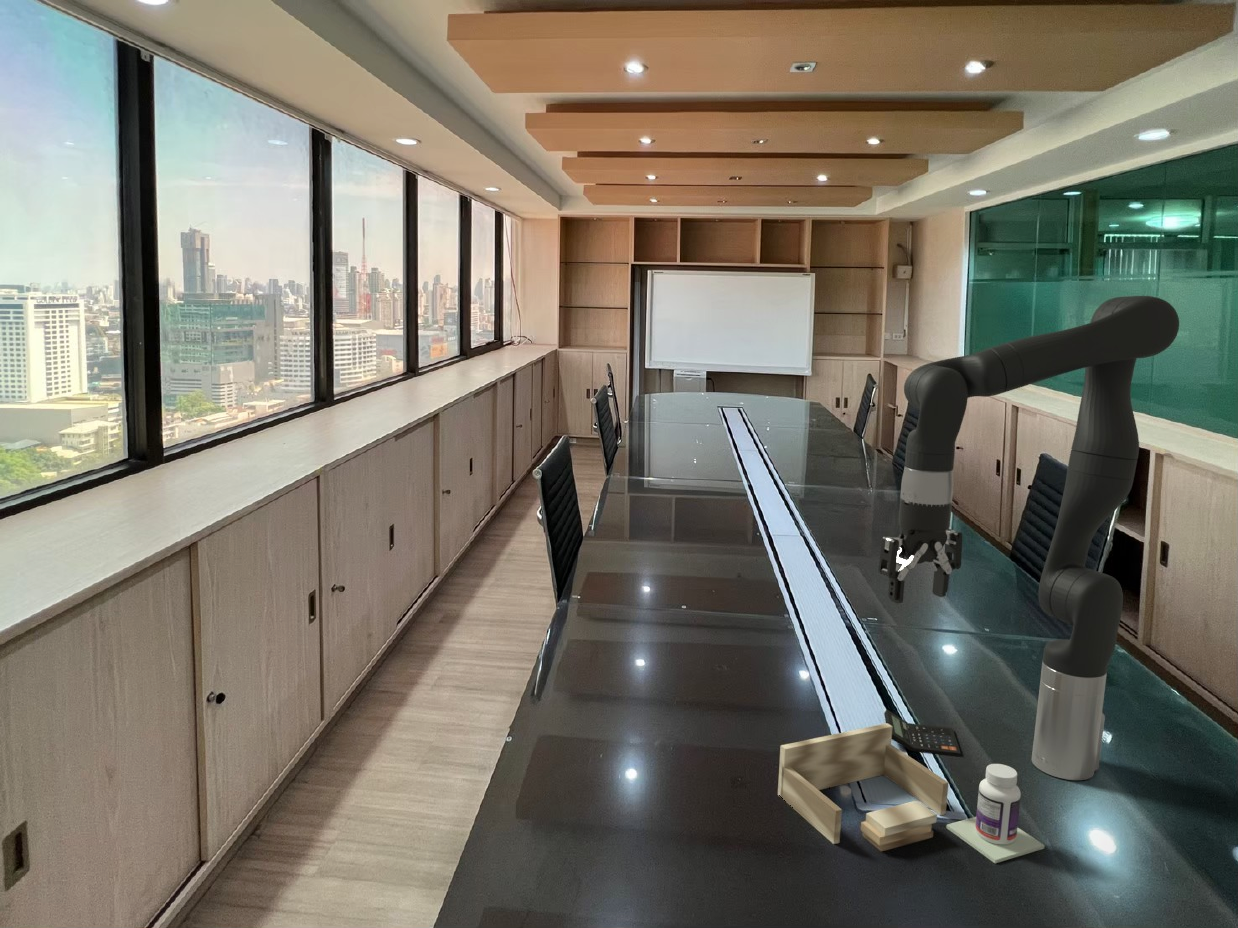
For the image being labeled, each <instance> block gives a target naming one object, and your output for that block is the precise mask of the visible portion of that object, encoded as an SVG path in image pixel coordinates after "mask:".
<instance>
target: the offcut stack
mask: <svg viewBox="0 0 1238 928" xmlns="http://www.w3.org/2000/svg"><path fill="white" fill-rule="evenodd" d="M937 818H938V813H936V812H935V811H933V810H932V809H931V808H929V807H928V806H926V805H925V804H924V803H922V802H921V801H919V800H918V799H917V800H912V801H909V802H905V803H902V804H901V803H900V804H897V805H893V806H889V807H886V808H885V807H884V808H882V809H881V808H880V809H877V810H873V811H870V812H867V813H865V820H864V821H861V822H860V831H861V832H862V837H863V838H865V839H866V840H867V841H868V843H870V844H871V845H872V846H874V847H875V848H876V849H878V850H879V851H880V852H883V851H888V850H891V849H896V848H899V847H903V846H907V845H911V844H914V843H917V842H921V841H925V840H929V839H931V838H933V837H934V830H933V829H932V828H933V827H932V826H933V825H932V824H936V823H937Z"/></svg>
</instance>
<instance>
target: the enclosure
mask: <svg viewBox="0 0 1238 928" xmlns="http://www.w3.org/2000/svg"><path fill="white" fill-rule="evenodd" d="M891 738H892V726H891V725H889V724H888V723H886V722H885V723H881V724H877V725H872V726H867V727H863V728H858V729H853V730H848V731H845V732H838V733H834V734H829V735H824V736H820V737H819V736H818V737H814V738H810V739H806V740H805V739H804V740H800V741H796V742H791V743H785V744H781V745H780V747H779V748H780V751H779V767H778V768H779V769H778V782H777V783H778V785H777V796H779V795H780V796H781V797H782V798H783V799H782V798H781V797H780V796H779V797H780V798H781V799H782V800H783V801H784V800H785V801H786V802H785V801H784V802H785V803H786V804H787V805H789V806H790V805H791V806H790V807H791V808H792V807H793V808H792V809H793V810H794V811H796V813H798V814H799V815H800V816H801V817H802V818H803V819H805V821H807V822H808V823H809V824H810V825H811V826H812V827H814V828H815V829H816V830H817V831H818V832H819V833H820V834H822V835H823V836H824V837H825V838H826V839H827V840H828V841H829V842H831V844H833V845H834V844H835V845H836V844H839V843H840V842H841V840H840V839H841V829H842V828H841V825H842V814H843V813H842V811H843V810H842V808H840V807H839V806H838V805H837V804H836V803H835V802H833V801H832V800H831V799H830V798H829V797H828V796H826V795H825V794H823V793H822V792H821V790H824V789H828V788H829V787H830V788H833V787H837V786H842V785H847V784H850V783H855V782H858V781H862V780H863V781H864V780H866V779H867V780H868V779H871V778H875V777H879V776H885V777H886V778H888V779H889V780H891V781H892V782H893V783H895V784H896V785H897V786H899V787H900V788H901V789H903V790H904V791H906V792H907V793H909V794H910V795H911V796H912V797H914V799H915V798H916V799H917V801H919V802H920V803H922V804H923V805H924V806H926V807H927V808H929V809H930V810H931V811H933V812H934V813H935V814H937V815H939V816H944V815H946V814H947V803H948V793H949V792H948V791H949V784H950V783H949V781H947V780H946V779H944V778H942V777H941V776H940V775H938V774H937V773H935V772H933V771H932V770H931V769H929V768H927V767H926V766H924V765H923V764H922V763H920V762H918V761H917V760H915V759H914V758H912V756H910V755H908V754H906V753H905V752H903V751H902V750H901V749H899V748H898V747H896V746H894V745H893V744H892V739H891Z"/></svg>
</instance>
